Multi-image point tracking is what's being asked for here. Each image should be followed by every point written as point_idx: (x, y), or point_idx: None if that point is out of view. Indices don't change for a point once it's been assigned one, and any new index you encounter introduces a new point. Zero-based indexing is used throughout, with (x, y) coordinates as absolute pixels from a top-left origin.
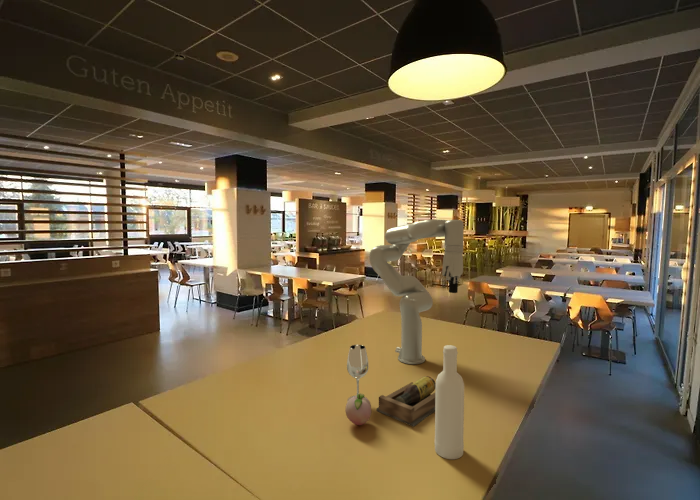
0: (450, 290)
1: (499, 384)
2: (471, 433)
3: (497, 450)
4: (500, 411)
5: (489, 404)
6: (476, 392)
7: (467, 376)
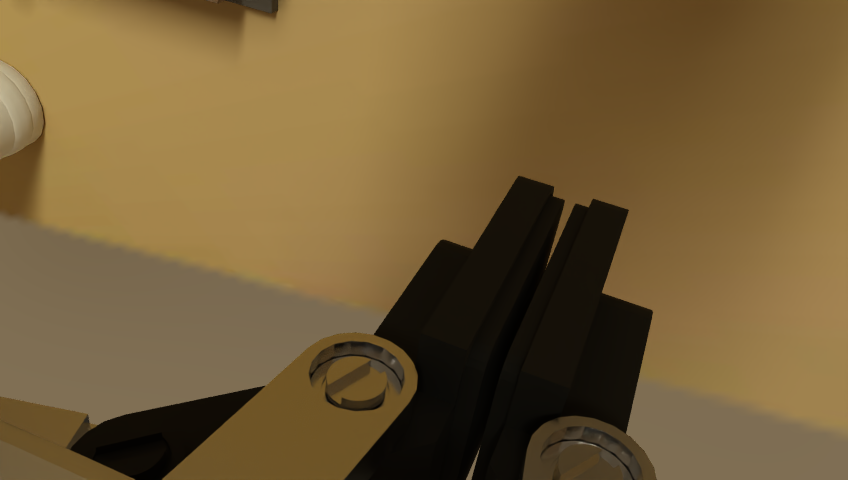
0: (440, 252)
1: (650, 231)
2: (134, 150)
3: (113, 229)
4: (345, 237)
5: (378, 194)
6: (472, 125)
7: (700, 35)
